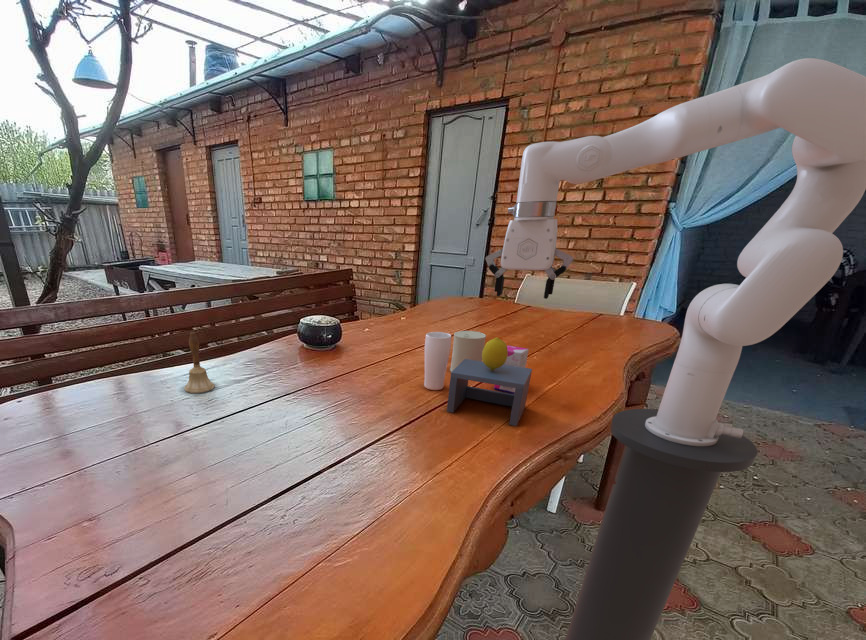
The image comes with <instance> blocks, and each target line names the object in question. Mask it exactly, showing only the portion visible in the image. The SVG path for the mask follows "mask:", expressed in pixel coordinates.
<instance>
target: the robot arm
mask: <svg viewBox="0 0 866 640" xmlns="http://www.w3.org/2000/svg"><path fill="white" fill-rule="evenodd" d="M780 128H781V129H783V130H785V131H787V132H789V133H790V134H793V135H794V139H793V141H792V145H791V154H792V158H793V161H794V163H795V167H796V181H795V185H794V186H793V189H792V190H791V192H790V194H789V195H788V197H787V198H786V199H785V200H784V202H783V203H782V204H781V205H780V207H779V208H778V209H777V211H776V212H774V213H773V215H772V216H771V217H770V218H769V220H768V221H767V222H766V223H765V224H764V225H763V226H762V228H760V230H759V231H758V232H757V233H756V234H755V235H754V237H753V238H752V239H751V240H750V241H749V242H748V243H747V244H746V245H745V246H744V248H743V249H742V251H741V252H740V253H739V255H738V257H737V262H736V267H737V270H738V272H739V274H740V275H742V276H743V277H745V279H743V281H742V282H741V283H740V284H734V283H721V284H714V285H712V286H709V287H707V288H704V289H703V290H702V291H700V292H698V293H697V294H695V296H694V297H693V299H692V300H691V302H690V303H689V305H688V307H687V310H686V313H685V318H684V323H683V329H682V335H681V339H680V343H679V347H678V349H677V353H676V356H675V358H674V362H673V364H672V368H671V369H670V374H669V377H668V380H667V383H666V386H665V389H664V392H663V395H662V398H661V401H660V404H659V407H658V409H657V410H658V413H657V416H655V417H651V418H648V419H647V420H646V422H645V427H646V429H647V430H648V431H649V432H651V433H652V434H654V435H656V436H658V437H660V438H663V439H665V440H668V441H671V442H675V443H679V444H683V445H689V446H711V445H714V444H716V443H717V441H718V438H719V437H718V436H720V435H721V434H722V435H728V436H730V437H736V438H741V437H742V435H743V436H744V429H743V428H738V427H734V426H733V424H731V423H727V422H719V421H718V419H717V416H718V414H719V412H720V409H721V407H722V404H723V402H724V399H725V396H726V394H727V390H728V389H729V386H730V383H731V381H732V378H733V377H734V373H735V371H736V369H737V366H738V364H739V361H740V358H741V355H742V350H743V347H746V346H752V345H755V344H758V343H761V342H763V341H765V340H766V339H768V338H770V337H771V336H773V335H774V334H775V333H777V332H778V331H779V330H780V329H782V327H784V326H785V324H786V323H788V322H789V321H790V320H791V319H792V318H793V317H794V316H795V315H796V314H797V313H798V312H799V311H800V310H801V309H802V308H803V307H804V306H806V304H807V303H808V302H809V301H810V300H812V298H813V297H814V296H815V295H816V294H817V293H818V292H819V291H820V290H821V289H822V288H823V287H824V286H825V285H826V284H827V283H828V282H830V280H831V279H832V278H833V276H834V275H835V274H836V272H837V271H838V269H839V267H840V265H841V263H842V260H843V256H844V248H843V243H842V242H841V240H840V239H839V238H838V237H837V236H836V235H835V234H833V233H835V231H836V230H837V229H838V228H839V226H841V224H842V223H843V222H844V221H845V220H846V218H847V217H848V216H849V215H850V214H851V213H852V212H853V211H854V209H855V208H856V207H857V206H858V204H859V202H860V201H861V199H862V198H863V196H864V195H865V192H866V76H865V75H864V74H861V73H858V72H856V71H854V70H851V69H849V68H847V67H844V66H842V65H840V64H836V63H835V62H832V61H828V60H826V59H821V58H813V57H807V58H799V59H796V60H793V61H790V62H788V63H786V64H784V65H782V66H780V67H779V68H777V69H775V70H773V71H772V72H770V73H768V74H765V75H763V76H760V77H758V78H754V79H751V80H748V81H745V82H742V83H739V84H736V85H733V86H730V87H728V88H725V89H722V90H719V91H716V92H713V93H710V94H707V95H703V96H701V97H697V98H694V99H691V100H688V101H685V102H682V103H681V102H680V103H679V104H677V105H673V106H672V107H669V108H667V109H666V110H663V111H662V112H660V113H657V114H656V115H654V116H652V117H650V118H648V119H646V120H644V121H642V122H640V123H638V124H636V125H633V126H631V127H627V128H625V129H623V130H620V131H617V132H614V133H612V134H608V135H605V136H600V135H588V136H587V135H586V136H583V137H579V138H573V139H568V140H564V141H541V142H536V143H531V144H529V145H528V146H526V147H525V148H524V150H523V152H522V157H521V164H520V171H519V180H518V185H517V186H518V189H517V194H516V203H515V205H514V206H509V207H508V208H507V215H511V216H513V219H509V221H508V225H507V229H506V231H505V236H504V241H503V247H502V248H501V249H498V250H497V251H494V252H493V253H490V254H489V255H487V256H485V258H484V259H485V261H486V264H487V266H488V270H489V271H490V272H491V273H492V274H493V275H494V277H495V283H494V284H495V285H494V293H495V292H496V297H500V296H502V295H503V290H504V284H505V277H504V274H505V273H506V272H507V271H508V270H509V271H544V272H545V274H546V275H547V279H546V281H545V285H544V286H545V287H544V293H543V299H545V300H547V299H549V297H550V295H553V294H554V293H553V292H554V287H555V281H556V278H558V277H559V276H561V275H562V274H563V273H564V272H566V270H567V269H568V268H569V267H570V265H571V264H572V263H573V261H574V256H571V255H570V254H568V253H566V252H564V251H563V250H561V249H559V248H557V242H558V241H557V240H558V219H557V218H555V215H556V213H555V212H556V209H557V207H556V206H557V200H558V194H559V188H560V183H561V181H566V182H567V183H569V184H571V185H583V184H587V183H590V182H594V181H596V180H600V179H603V178H607V177H610V176H613V175H614V176H615V175H617V174H620V173H624V172H627V171H631V170H635V169H639V168H641V167H646V166H650V165H658V164H662V163H666V162H669V161H673V160H677V159H679V158H683V157H687V156H690V155H693V154H696V153H701V152H703V151H706V150H710V149H714V148H717V147H720V146H724V145H727V144H732V143H735V142H738V141H741V140H746V139H748V138H752V137H756V136H759V135H763V134H765V133H769V132H771V131H774V130H778V129H780ZM499 257H500V268H499V267H498V266H497V265H496V264H495V260H496V259H497V258H499ZM555 257H557V258H559V259H560V260H563V263H562V264H561V266H560V267H558V268H557V269H555V268H554V267H553V265H554V261H555Z"/></svg>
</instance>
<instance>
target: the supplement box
mask: <svg viewBox="0 0 866 640" xmlns="http://www.w3.org/2000/svg"><path fill="white" fill-rule="evenodd" d="M507 350H508V355H507V359H506V362H505V363H504V364H503V365H510V366H516V367H523V368H527V361H528V355H529V348H525V347H519V346H513V345H507ZM515 389H516V388H512V387H506V386H500V385H494V386H493V391H498V392H504V393H509V394H515Z"/></svg>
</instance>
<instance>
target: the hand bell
mask: <svg viewBox="0 0 866 640" xmlns="http://www.w3.org/2000/svg"><path fill="white" fill-rule="evenodd" d="M188 346H189V350H190V352H191V355H192V362H193V367H191V368H190V369H189V371H188V380H187V383H186V384H185V385H184V387H183V388H184V389H183V390H184V392H186V393H191V394H200V393H206V392H210V391H211V390H213V389H215V387H216V386H215V383H214V382H212V381H211V380H210V378H209V377H208V373H207V370H206V368H204V367H202V366H201V362H200V356H199V354H200V341H199V339H198V336H197V334H196V332H195V331H191V332H189V338H188Z"/></svg>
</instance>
